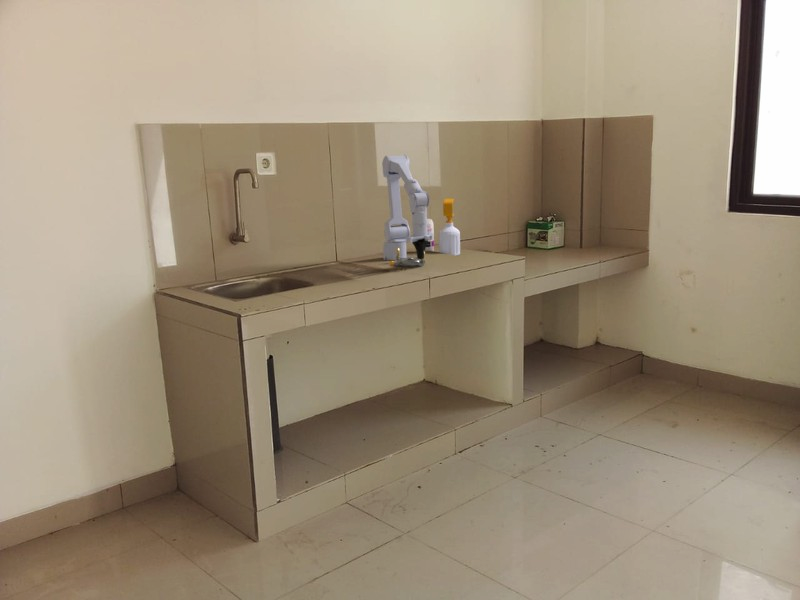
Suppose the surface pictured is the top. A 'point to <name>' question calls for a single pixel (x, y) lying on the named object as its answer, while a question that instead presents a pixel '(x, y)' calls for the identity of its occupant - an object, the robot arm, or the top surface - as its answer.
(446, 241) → the soap bottle
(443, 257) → the top surface
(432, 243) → the supplement can
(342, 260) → the top surface
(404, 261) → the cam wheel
